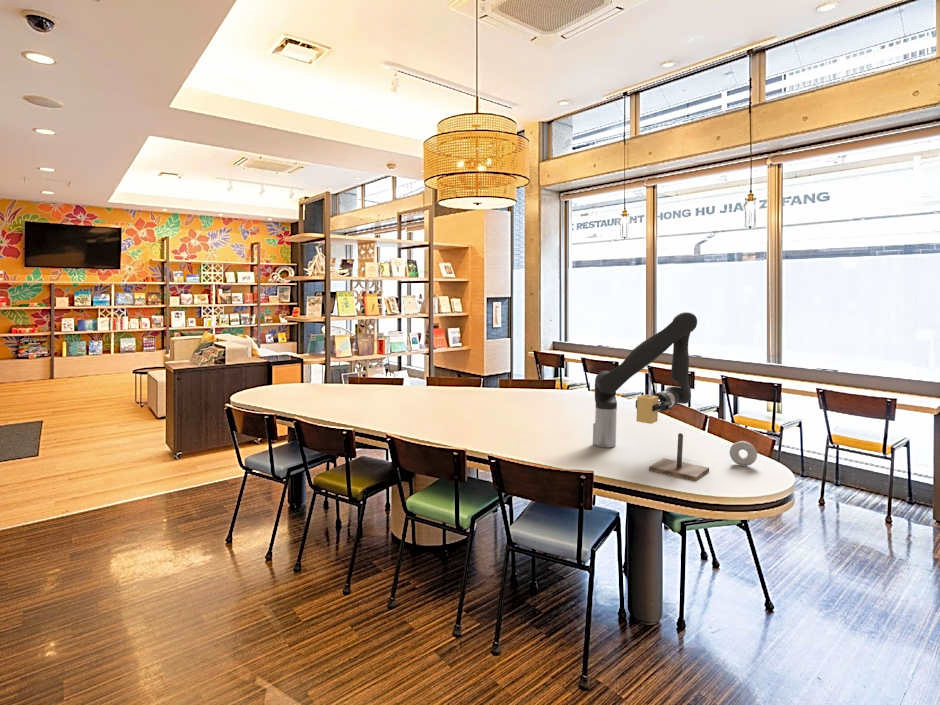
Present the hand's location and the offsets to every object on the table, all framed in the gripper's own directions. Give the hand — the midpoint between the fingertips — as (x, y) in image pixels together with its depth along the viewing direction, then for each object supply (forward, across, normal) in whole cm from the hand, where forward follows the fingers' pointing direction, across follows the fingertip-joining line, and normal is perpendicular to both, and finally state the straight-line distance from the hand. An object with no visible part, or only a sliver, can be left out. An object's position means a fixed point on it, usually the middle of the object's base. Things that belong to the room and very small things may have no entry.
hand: (645, 407), depth 219 cm
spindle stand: (-4, +13, +24) cm, 27 cm away
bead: (-2, 0, +6) cm, 6 cm away
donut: (-27, +29, +24) cm, 47 cm away
